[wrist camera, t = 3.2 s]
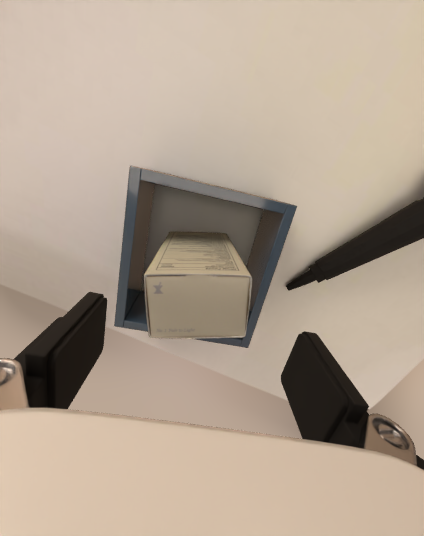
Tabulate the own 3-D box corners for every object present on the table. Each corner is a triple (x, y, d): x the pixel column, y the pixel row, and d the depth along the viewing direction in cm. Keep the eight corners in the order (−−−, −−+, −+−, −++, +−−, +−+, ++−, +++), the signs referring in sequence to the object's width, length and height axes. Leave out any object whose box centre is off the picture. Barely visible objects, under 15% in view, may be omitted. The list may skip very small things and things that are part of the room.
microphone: (287, 283, 30) (462, 192, 24) (306, 319, 26) (525, 218, 20) (269, 257, 27) (465, 145, 21) (287, 293, 22) (541, 164, 17)
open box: (132, 295, 26) (114, 326, 21) (148, 169, 22) (129, 165, 16) (238, 314, 28) (248, 348, 22) (274, 199, 23) (297, 206, 18)
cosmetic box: (170, 269, 25) (144, 341, 14) (168, 229, 24) (138, 273, 13) (227, 270, 26) (246, 341, 14) (229, 230, 24) (253, 275, 13)
